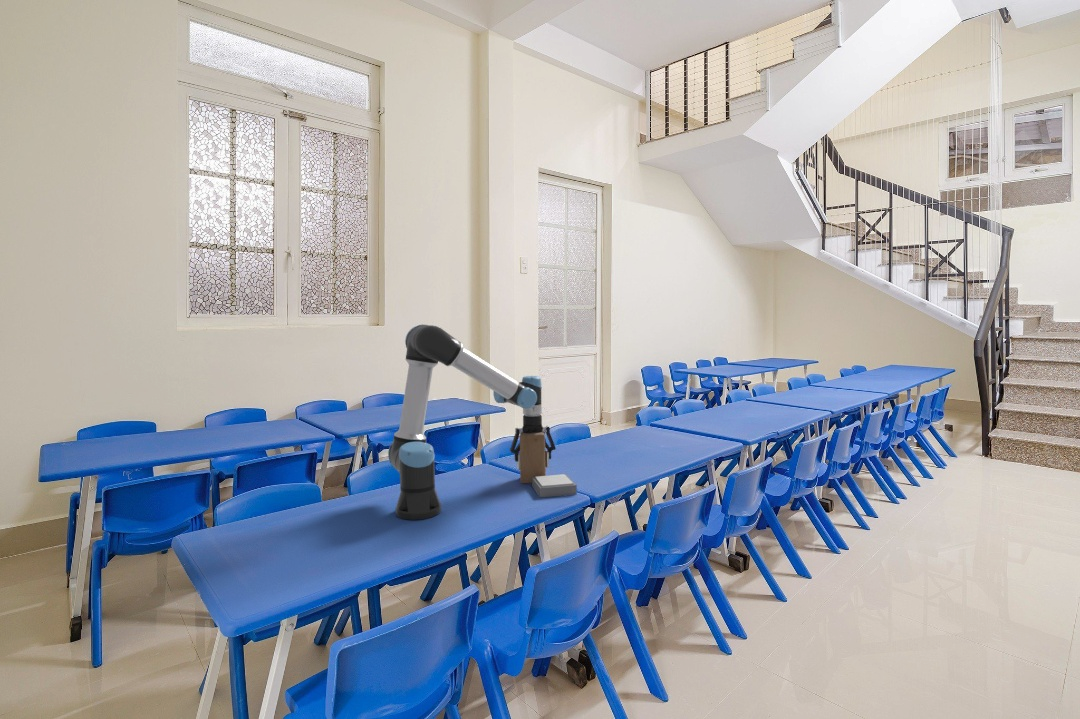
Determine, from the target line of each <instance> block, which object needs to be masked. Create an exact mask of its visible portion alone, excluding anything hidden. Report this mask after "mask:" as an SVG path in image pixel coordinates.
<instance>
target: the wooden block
mask: <svg viewBox="0 0 1080 719" xmlns="http://www.w3.org/2000/svg"><path fill="white" fill-rule="evenodd" d="M545 441H546V432H545V431H544V430H542V432H539V433H536V432H533V433H524V432H523V431H521V433H520V434H519V442H520V451H519V453H520V470H519V472H520V473H519V474H520V475H519V476H520V483H521V484H525V485H528V484H531V485H532V477H537V476H547V475H546V474H547V473H546V471H547V470H546V468H547V467H546V462H545V451H546V447H545Z"/></svg>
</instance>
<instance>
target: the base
mask: <svg viewBox="0 0 1080 719" xmlns="http://www.w3.org/2000/svg"><path fill="white" fill-rule="evenodd" d="M531 486H532V488H533V489H534V491H535V492H536V493H537V495H538V497H539V498H550V497H560V496H571V495H577V490H578V485H577V484H576V482H574V481H573V480H572V478H570V477H569V475H567V474H566V473H565V474H552V475H551V474H550V475H546V476H537V477H532V484H531Z"/></svg>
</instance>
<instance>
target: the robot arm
mask: <svg viewBox="0 0 1080 719" xmlns="http://www.w3.org/2000/svg"><path fill="white" fill-rule="evenodd" d="M404 342H405V347H406V354H405V361H406V362H407V363H408V367H407V368H408V370H407V377H406V383H405V389H404V396H403V401H402V409H401V414H400V422H399V428H398V430H397V431H395V432H394V433H393V439H392V443H391V444H390V446H389V448H388V451H387V456H388V460H389V463H390V465H391V466H392V467H393V469H395V470H396V471H397V473H399V483H400V488H399V489H400V493H399V496H398V499H397V503H396V506H395V515H396V516H397V518H400V519H402V520H409V521H414V520H415V521H416V520H426V519H429V518H433V517H436V516H437V515H439V514H440V513H441V512H442V509H441V508H442V507H441V506H442V505H441V502H440V499H439V496H438V493H437V491H436V478H435V477H436V475H435V474H436V473H435V458H436V457H435V456H436V453H435V452H434V451H435V450H434V449H435V448H434V447H433V445H431V444H430V443H428V442H427V436H426V435H425V434H424V427H425V422H426V416H427V408H428V402H429V396H430V388H431V382H432V377H433V370H434V368H435V367H436V366H437V365H438V364H439V363H441V364H443V365H444V366H447V367H450V366H452V367H453V368H455V369H457V370H459V371H460V372H461V373H463V374H465V375H466V376H468V377H469V378H472V379H473V380H475V381H477V382H478V383H480V384H482V385H483V386H485V387H487V388H488V389H489V390H492V391H493V398H494V401H495V402H496V403H497V404H507V403H508V404H512V405H514V406H516V407H520V408H521V409H522V414H523V416H522V427H521V428H518V427H516V428H515V429H514V430H515V431H514V432H515V433H514V437H513V440H512V443H511V446H510V449H509V451H510V452H511V454H514V461H515V462H516V464H517V465H516V467H517V470H518V471H520V441H519V443H518V440H519V439H520V433H521V431H523V432H524V433H533V432H536V433H539V432H542V430H544V431H545V436H546V437H547V440H548V442H549V444H548V442H546V440H545V462H546V468H547V469H549V468H550V460H552V452H553V451H555V450H556V449H557V448H556V446H555V442H554V441H553V437H552V434H551V428H550V426H548V425H546V426H543V418H542V414H543V410H542V380H541V379H542V378H541V377H540V376H537V375H527V376H526V375H525V376H523V377H522V379H521V381H520V382H518V381H517V380H516V379H514V378H512V377H511V376H510V375H508V374H506V373H504V372H503V371H502V370H500V369H499V368H497V367H495V366H493V365H492V364H491V363H489V362H487V361H486V360H484V359H482V358H481V357H480V356H478V355H476V354H475V353H473V352H471V351H470V350H468V349H466V348H465V347H464V345H463V343H462V342H461V341H459V340H458V339H457V338H455V337H454V336H453V335H452V334H450V333H448V332H447V331H446V330H444V329H443V328H442V327H439V326H437V325H430V324H429V325H428V324H419V325H415V326H414V327H412V328H410V329H409V330H408V332H407V334H406V336H405V340H404Z"/></svg>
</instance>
